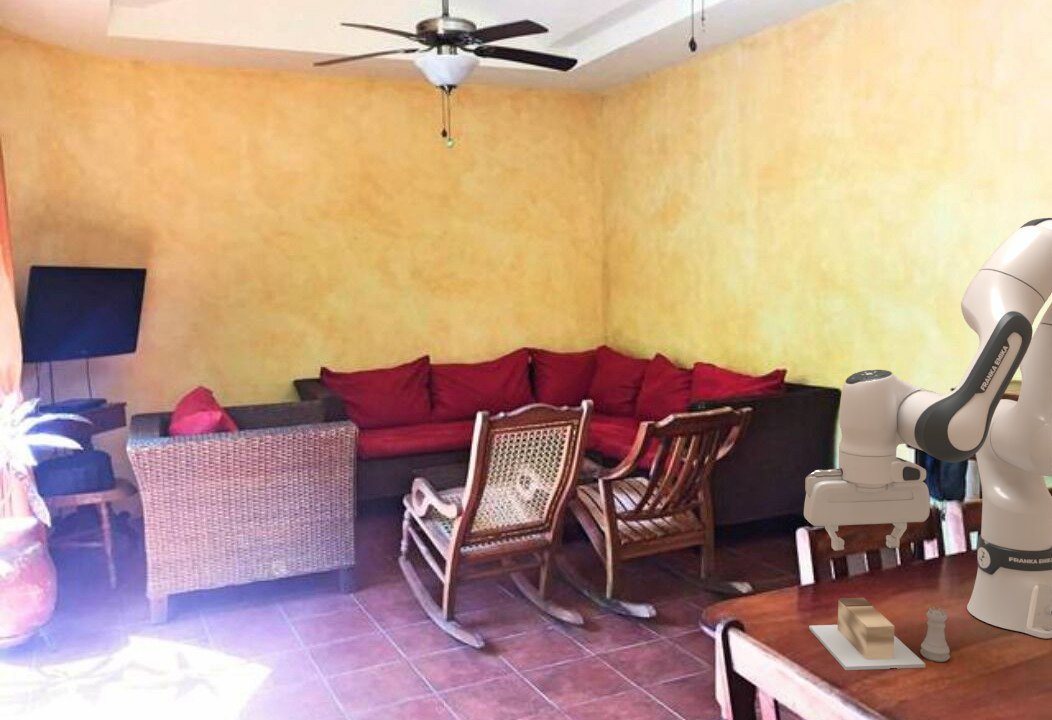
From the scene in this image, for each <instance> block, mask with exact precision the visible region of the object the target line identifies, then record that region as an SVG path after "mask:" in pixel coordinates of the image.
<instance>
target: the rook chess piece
mask: <svg viewBox="0 0 1052 720" xmlns="http://www.w3.org/2000/svg"><path fill="white" fill-rule="evenodd" d="M925 615H926V617H927V619H928V621H927V622H926V624H927V632H926V636H925V638H924V639H923V642H921V644H920V648H921V649H920V650H919V651H920V652H919V653H920V655H921V656H922V657H923V658H925V659H926V660H928V661H931V662H934V661H935V662H936V663H943V662H948V661H949V659H950V658H951V655H950V652H951V651H950V647H949V645H948V642H946V634H945V628H946V627H947V626H946V623H945V622H946V620H948V618H949V616H948V615H947V613H946V609H944V608H943V609H942V607H937V609H936V606H931V607H928V611H927V612H925Z"/></svg>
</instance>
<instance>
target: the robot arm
mask: <svg viewBox="0 0 1052 720" xmlns="http://www.w3.org/2000/svg"><path fill="white" fill-rule="evenodd" d="M1051 295H1052V217H1044V218H1043V217H1042V218H1035V219H1032V220H1029V221H1027V222H1025V223H1024V224H1023V225H1021V226H1020V227H1019V228H1018V229H1016V230H1015V231H1013V232H1012V233H1011V234H1010V235H1009V236H1008V237H1006V239H1004V241H1003V242H1001V244H1000V245H999V246H998V247H997V248H996V249H995V250H994V251H993V252H992V254H990V256H989V257H988V259H987V260H986V261H985V262H984V264H983V265H982V266H981V268H980V269H979V270H978V271H977V273H976V274H975V275H974V277H973V279H972V280H971V281H970V283H969V284H968V286H967V287H966V289H965V292H964V294H963V296H962V299H961V301H960V307H961V313H962V317H963V318H964V320H965V322H966V324H967V326H968V327H969V328H970V329H972V331H974V333H976V335H978V339H979V340H978V341H979V344H978V348H977V350H976V353H975V354H974V356H973V358H972V360H971V362H970V363H969V365H968V367H967V369H966V370H965V373H964V374H963V376H962V378H961V379H960V380H959V383H958V384H957V386H956V387H955V388H954V389H953V390H952V391H949V392H948V393H946V394H943V393H942V394H941V393H938V392H936V391H934V390H929V389H925V388H922V387H919V386H916V385H913V384H911V383H909V382H907V381H904V380H903V379H901V378H899V377H898V376H896V375H894V373H893V372H892V371H890V370H887V369H886V370H885V369H868V370H862V371H857V372H855V373H852V374H851V375H850V376H849V375H848V377H847V378H846V379H845V381H844V383H843V385H842V390H841V394H840V395H841V396H840V401H839V403H840V405H839V428H840V431H841V437H840V438H841V439H840V443H839V446H838V468H832V469H831V468H830V469H829V468H828V469H815V470H814V471H813V472H811V473H809V474H808V475H807V476H806V477H805V481H804V483H805V485H804V488H805V489H804V490H805V499H804V504H803V506H804V507H803V516H804V519H805V520H807V522H808V523H810V524H811V525H812V526H814V527H824V529H825V531H826V532H827V533H828V535H829V537H830V539H831V540H830V542H831V549H833V551H834V552H835V551H837V552H838V551H844V550H845V540H844V539H843V538H841V537H838V535H837V532H838V531H839V526H851V525H853V526H854V525H877V524H879V525H880V524H892V525H893V526H894V527H893V530H892V531H891V533H890V534H887V535H886V536H885V540H886V541H885V545H886V546H887V547H888V548H889V549H899V548H900V542H901V541H900V539H901V538H902V536H903V535H904V533H905V532H906V530H907V529H908V528H907V527H908V523H923V522H926V520H927V519H928V518H929V516H930V509H931V508H930V507H931V506H930V505H931V504H930V502H931V501H930V491H929V487H928V485H927V483H926V482H924V481H925V480H926V478H927V470H926V468H923V467H922V466H920V465H919V464H917V463H916V462H915V463H914V462H912V461H909V460H907V459H903V458H901V457H897V448H898V446H899V445H908V446H910V447H913V448H915V449H918V450H920V451H923V452H925V453H926V454H927V455H929V456H930V457H933V458H935V459H937V460H939V461H941V462H944V463H951V464H952V463H954V464H955V463H960V462H964V461H966V460H968V459H971V457H973V456H974V455H975V459H976V463H977V467H978V468H977V469H978V473H979V474H978V475H979V479H980V485H981V492H982V493H981V495H982V497H981V498H982V504H981V505H982V506H981V510H982V511H981V527H980V528H981V531H980V532H981V533H980V534H979V535H978V538H977V551H976V552H977V553H976V559H977V573H976V577H975V580H974V581H975V582H974V587H973V590H972V592H971V596H970V598H969V602H968V603H967V605H966V608H967V611H968V612H969V614H971V616H974V618H976V619H978V620H980V621H982V622H985V623H986V624H990V625H992V626H995V627H999V628H1002V629H1006V630H1010V631H1015V632H1021V633H1025V634H1028V635H1030V636H1033V637H1036V638H1041V639H1052V495H1051V492H1050V490H1049V489H1048V487H1047V484H1046V480H1045V476H1047V477H1052V302H1051V303H1050V304H1049V306H1048V307H1047V308H1046V310H1045V313H1044V314H1043V316H1042V318H1041V319H1040V321H1039V324H1038V326H1037V328H1036V329H1035V331H1033V324H1034V322H1035V320H1036V318H1037V317H1038V315H1039V313H1040V311H1041V309H1042V308H1043V307H1044V305H1045V304H1046V302H1047V301H1048V300H1049V298H1050V297H1051ZM1033 332H1034V334H1033ZM1018 369H1019V370H1020V373H1021V385H1020V390H1019V395H1018V400H1017V401H1016V400H1012V399H1008V398H1006V399H1003V396H1004V395H1005V392H1006V391H1007V389H1008V387H1009V385H1010V383H1011V381H1012V380H1013V378H1014V376H1015V374H1016V373H1017V371H1018Z"/></svg>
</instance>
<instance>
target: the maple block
mask: <svg viewBox="0 0 1052 720" xmlns="http://www.w3.org/2000/svg"><path fill="white" fill-rule="evenodd" d="M837 609H838V610H837V625H838V631H839V632H840V633H841V634H842V635H843V636H844V637H845V638H846V639H847V640H848V641H849V642H850V643H851V644H852V645H853V646H854V647H855V648H856V649H857V650H858V652H859V653H860V654H861V655H862V656H863V657H864V658H865V659H866V660H867V659H893V655H894V636H895V629H896V627H895V625H894V623H892V622H891V621H890V620H889V619H887V618H886V617H885V616H884V615H883V614H881V613H880V612H879V611H878V610H877V609H876V608H875V607H874V606H873V605H872V603H871V602H869V601H868V600H867V599H866V598H865V597H842V598H840V597H839V598H838V605H837Z"/></svg>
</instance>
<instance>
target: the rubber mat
mask: <svg viewBox="0 0 1052 720" xmlns="http://www.w3.org/2000/svg"><path fill="white" fill-rule="evenodd" d="M808 628H809V630H810V632H811V633H812V634H813V635H814V636H815V637H816V638H817V640H818V641H819V642H820V643H821V644H822V645H823V646H824V647H825V649H826V650H827V651H828V653H830V654H831V655H832V657H833V658H834V659H835V660H836V661H837V663H839V665H840V666H841V667H842V668H843V670H845V671H859V670H861V671H863V670H864V671H865V670H866V671H867V670H868V671H869V670H889V669H890V668H897V669H914V668H915V669H920V668H922V669H923V668H926V663H925V662H924V661H923V660H922V659H921V658H920V657H918V656H917V655H916V654H915V653H914V652H913V651H912V650H911V649H910V648H909V647H908V646H907V645H905V644H904V643H903V642H902V640H900V639H899V638H898V637H897V636H895V635H894V655H893V659H867V660H866V659H865V658H864V657H863V656H862V655H861V654H860V653H859V652H858V650H857V649H856V648H855V647H854V646H853V645H852V644H851V643H850V642H849V641H848V640H847V639H846V638H845V637H844V636H843V635H842V634H841V633H840V632H839V631H838V624H817V625H816V624H815V625H809V627H808Z"/></svg>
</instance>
